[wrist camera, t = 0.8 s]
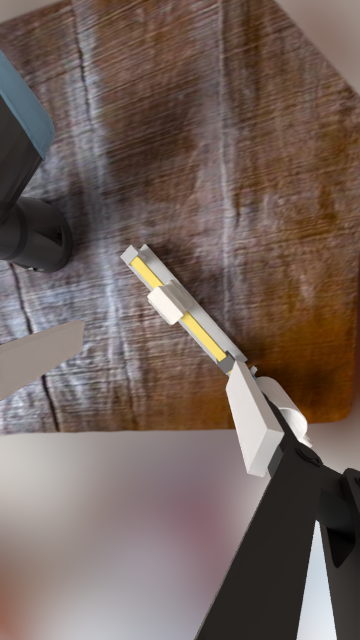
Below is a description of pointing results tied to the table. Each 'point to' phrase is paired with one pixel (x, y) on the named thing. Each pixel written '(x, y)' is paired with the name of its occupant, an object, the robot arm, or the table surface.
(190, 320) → the long yellow bar
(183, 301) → the white stepped block
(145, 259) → the linear slide rail
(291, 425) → the mug
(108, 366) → the table surface
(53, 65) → the table surface
